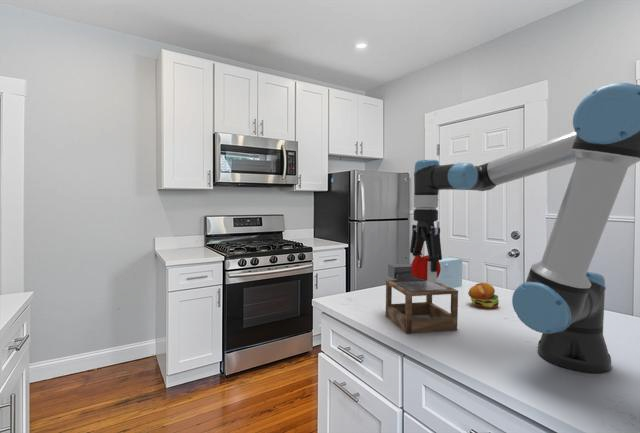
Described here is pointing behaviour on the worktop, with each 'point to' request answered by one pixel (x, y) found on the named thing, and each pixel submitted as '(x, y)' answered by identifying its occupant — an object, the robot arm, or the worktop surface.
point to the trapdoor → (410, 279)
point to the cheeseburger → (483, 296)
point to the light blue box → (450, 272)
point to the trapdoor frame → (421, 310)
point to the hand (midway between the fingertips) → (424, 278)
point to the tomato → (422, 267)
